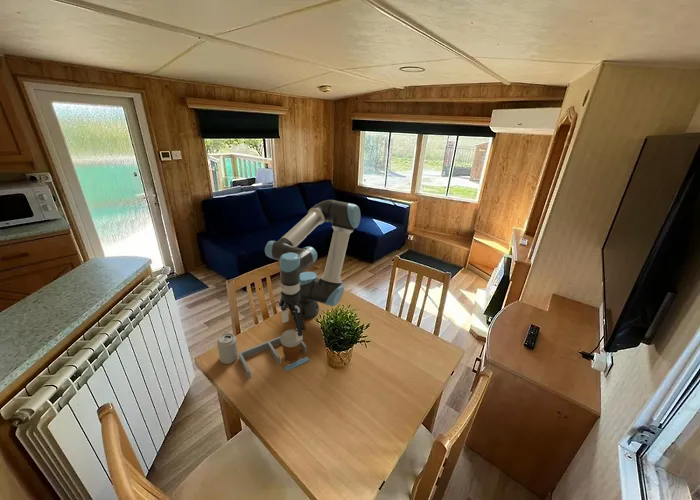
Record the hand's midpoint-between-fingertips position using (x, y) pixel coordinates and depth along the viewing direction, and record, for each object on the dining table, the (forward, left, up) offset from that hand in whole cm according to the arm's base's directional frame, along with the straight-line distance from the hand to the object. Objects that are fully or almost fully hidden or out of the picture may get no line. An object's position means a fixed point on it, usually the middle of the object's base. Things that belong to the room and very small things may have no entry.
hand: (292, 330), depth 121 cm
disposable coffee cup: (0, 0, -15) cm, 15 cm away
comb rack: (+7, -5, -15) cm, 17 cm away
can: (+24, -14, -15) cm, 32 cm away
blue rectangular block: (0, +5, -15) cm, 16 cm away
